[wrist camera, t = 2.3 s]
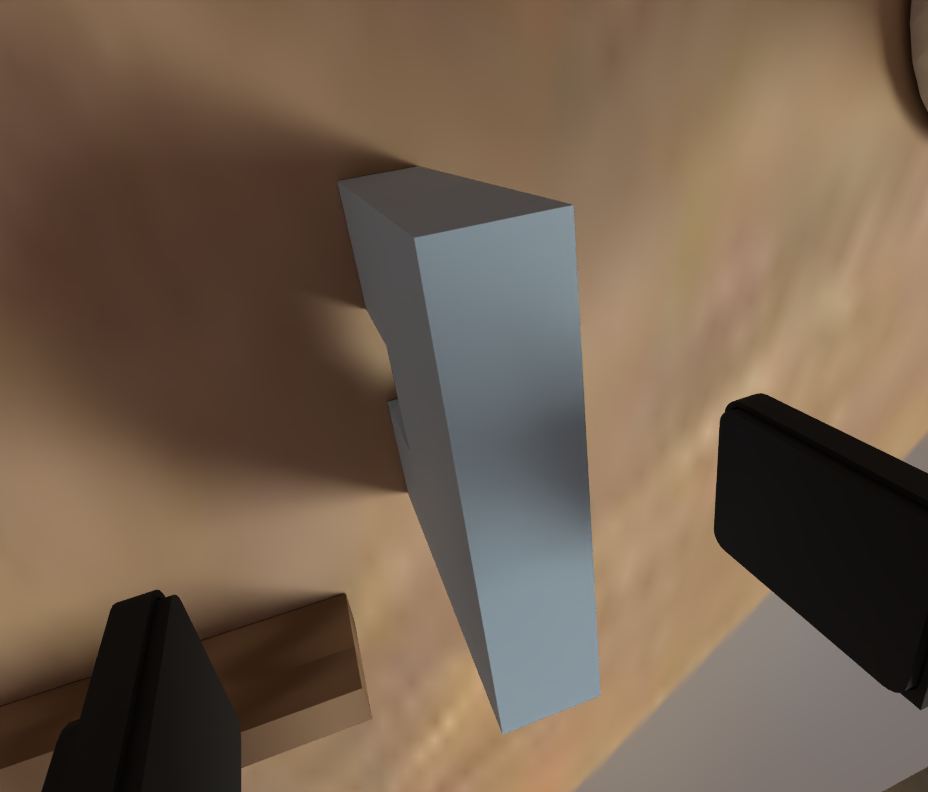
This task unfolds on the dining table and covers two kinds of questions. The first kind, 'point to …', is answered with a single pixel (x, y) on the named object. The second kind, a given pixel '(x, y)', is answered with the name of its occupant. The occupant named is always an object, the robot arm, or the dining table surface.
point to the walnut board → (228, 692)
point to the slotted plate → (489, 418)
